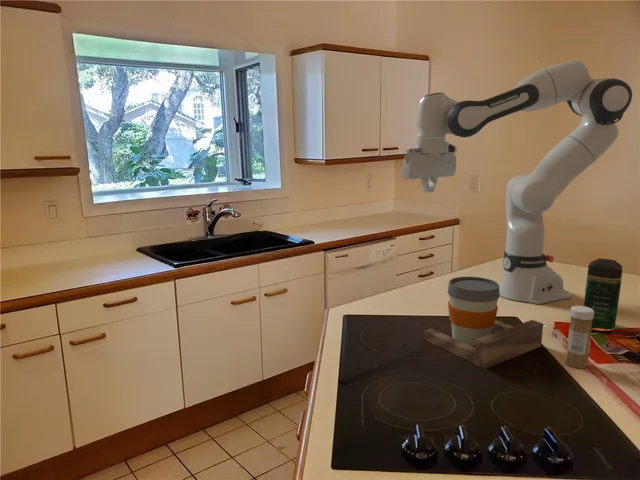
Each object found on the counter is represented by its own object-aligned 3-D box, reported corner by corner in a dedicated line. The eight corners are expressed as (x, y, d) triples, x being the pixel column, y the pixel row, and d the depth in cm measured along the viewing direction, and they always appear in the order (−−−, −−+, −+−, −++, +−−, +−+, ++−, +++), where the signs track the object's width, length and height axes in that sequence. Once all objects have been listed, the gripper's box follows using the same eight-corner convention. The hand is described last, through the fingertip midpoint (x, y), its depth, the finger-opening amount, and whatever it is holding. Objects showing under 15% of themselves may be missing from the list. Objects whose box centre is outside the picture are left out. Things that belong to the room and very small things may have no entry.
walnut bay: (424, 339, 122) (425, 317, 120) (478, 322, 133) (479, 302, 131) (485, 368, 106) (486, 343, 105) (541, 346, 117) (543, 323, 116)
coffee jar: (614, 336, 122) (622, 266, 119) (579, 329, 127) (586, 262, 123) (616, 324, 130) (624, 258, 126) (583, 318, 135) (590, 255, 131)
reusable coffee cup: (507, 341, 120) (511, 285, 117) (474, 354, 113) (477, 294, 110) (467, 326, 130) (470, 273, 127) (435, 336, 124) (437, 281, 120)
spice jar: (591, 365, 107) (598, 309, 104) (581, 371, 104) (587, 313, 102) (572, 358, 111) (577, 303, 108) (561, 363, 108) (566, 307, 105)
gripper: (412, 148, 138) (411, 195, 141) (460, 147, 149) (458, 190, 152) (398, 148, 144) (397, 193, 147) (445, 147, 154) (443, 189, 157)
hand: (428, 192), depth 149 cm, fingers closed
